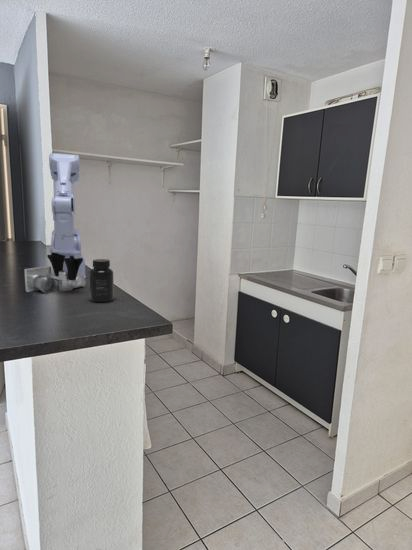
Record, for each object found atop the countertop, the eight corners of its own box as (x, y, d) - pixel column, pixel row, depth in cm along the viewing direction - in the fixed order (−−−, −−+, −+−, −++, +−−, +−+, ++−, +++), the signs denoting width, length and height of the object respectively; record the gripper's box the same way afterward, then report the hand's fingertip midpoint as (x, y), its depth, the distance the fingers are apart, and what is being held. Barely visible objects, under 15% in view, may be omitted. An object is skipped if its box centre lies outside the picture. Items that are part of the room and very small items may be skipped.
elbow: (63, 291, 118) (63, 273, 117) (56, 289, 120) (56, 271, 119) (85, 287, 124) (85, 269, 123) (78, 285, 127) (78, 268, 126)
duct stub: (25, 291, 117) (24, 269, 115) (49, 287, 123) (48, 266, 121) (36, 295, 113) (35, 272, 112) (60, 290, 119) (59, 269, 118)
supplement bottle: (118, 298, 114) (118, 259, 111) (105, 304, 108) (104, 263, 105) (98, 295, 116) (98, 257, 113) (85, 301, 110) (84, 260, 107)
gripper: (39, 233, 118) (41, 275, 121) (66, 238, 110) (67, 283, 113) (59, 232, 124) (61, 273, 127) (86, 237, 115) (87, 280, 118)
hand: (65, 277), depth 120 cm, fingers open, 7 cm apart
